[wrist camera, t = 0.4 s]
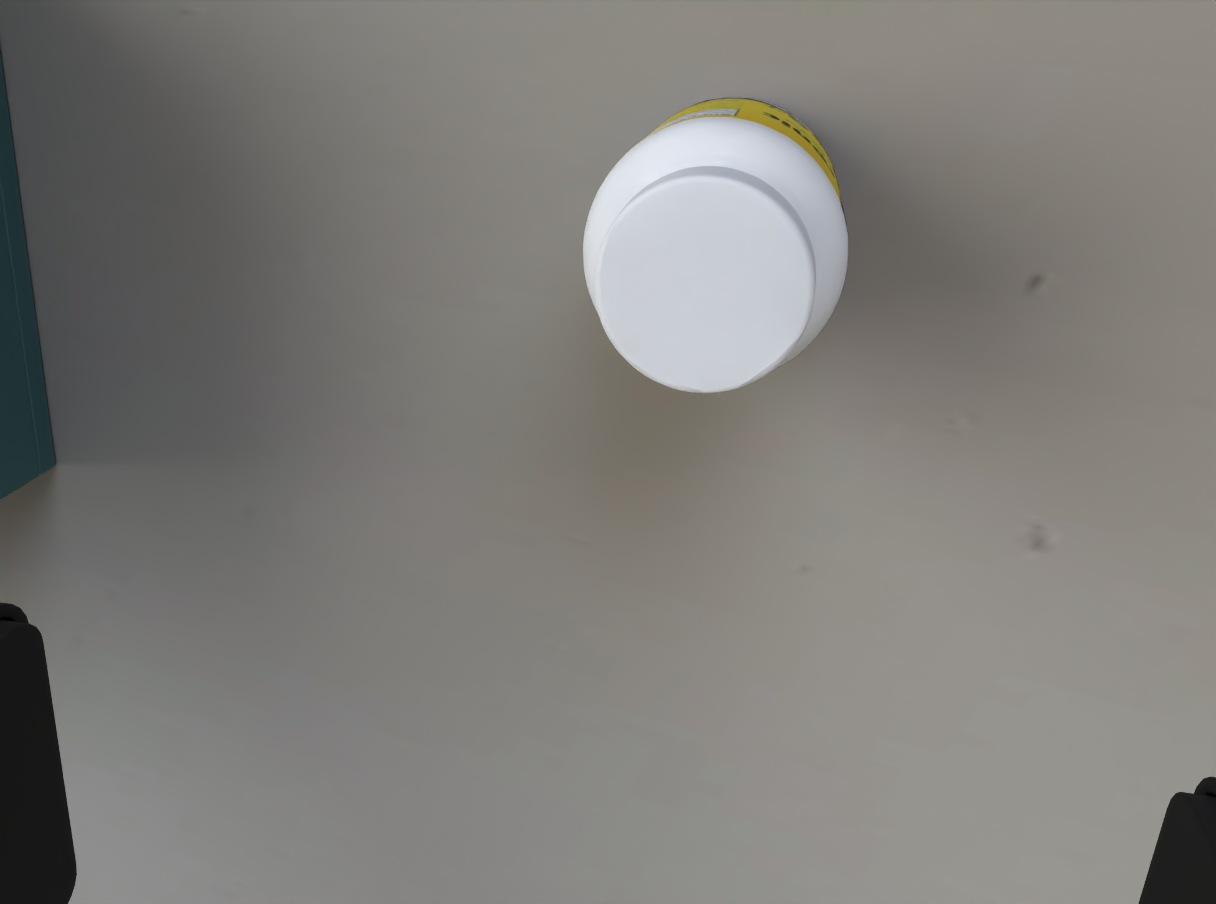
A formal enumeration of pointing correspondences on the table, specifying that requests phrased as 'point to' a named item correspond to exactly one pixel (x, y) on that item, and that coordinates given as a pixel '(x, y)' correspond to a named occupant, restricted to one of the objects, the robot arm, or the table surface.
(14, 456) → the teal open box
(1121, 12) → the table surface
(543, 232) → the table surface
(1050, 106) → the table surface
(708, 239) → the supplement bottle
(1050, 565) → the table surface
